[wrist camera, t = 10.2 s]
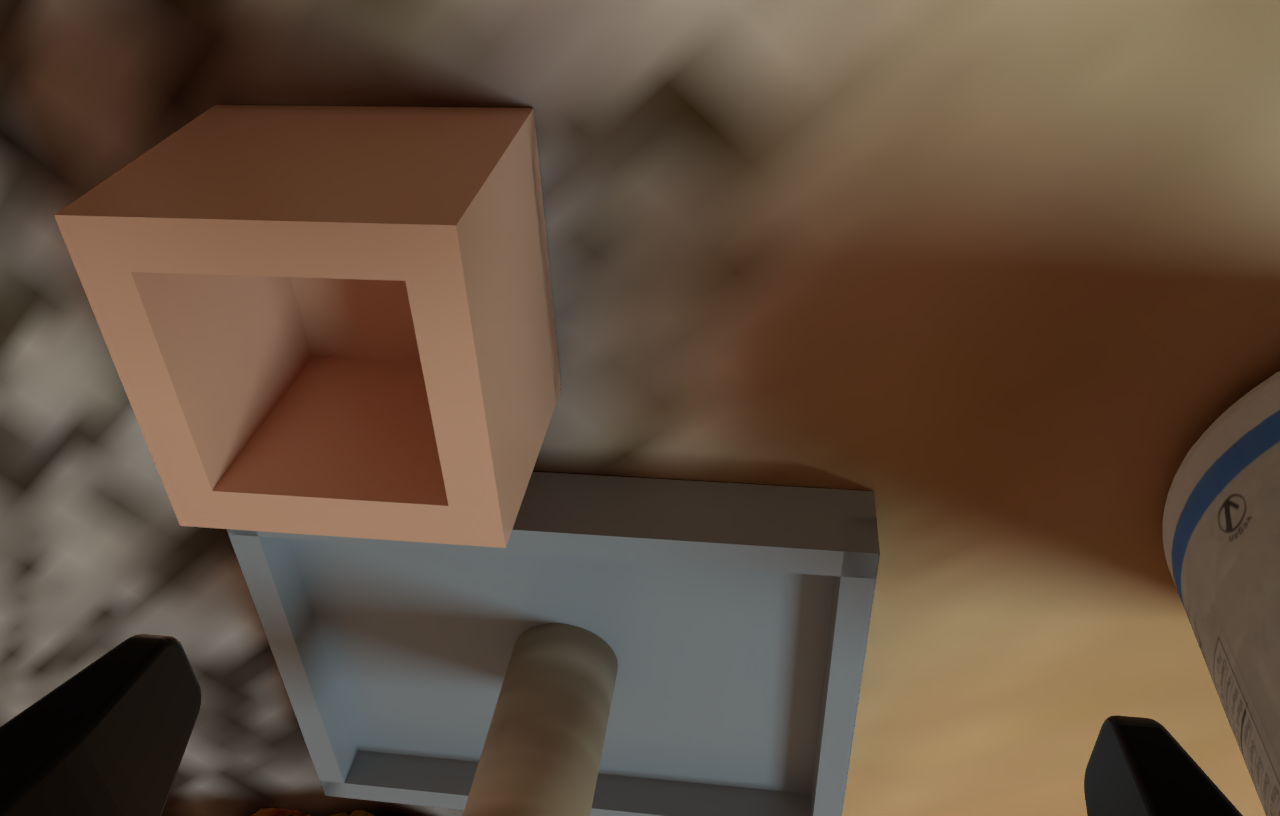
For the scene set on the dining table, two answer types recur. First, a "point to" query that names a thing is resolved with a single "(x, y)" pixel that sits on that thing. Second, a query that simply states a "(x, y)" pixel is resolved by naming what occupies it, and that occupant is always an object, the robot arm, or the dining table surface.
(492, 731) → the dowel
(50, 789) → the robot arm
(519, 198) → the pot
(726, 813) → the tray
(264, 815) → the croissant
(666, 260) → the dining table surface
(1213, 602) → the supplement tub
